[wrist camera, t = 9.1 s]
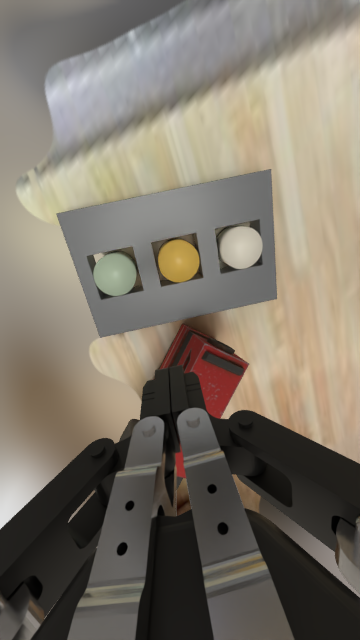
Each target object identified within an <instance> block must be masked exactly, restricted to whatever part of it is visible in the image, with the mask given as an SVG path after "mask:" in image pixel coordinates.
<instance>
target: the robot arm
mask: <svg viewBox="0 0 360 640" xmlns="http://www.w3.org/2000/svg"><path fill="white" fill-rule="evenodd" d="M180 445H181V449H182V453H183V458H184V461H183V463H184V469H185V475H186V480H187V486H188V492H189V497H190V503H191V508H192V509H191V510H189V511H187V512H185V513H183V514H181V515H179V516H176V489H177V468H176V456H175V453H179V452H181V449H180ZM232 474H236V475H237V477H238V478H239V480H240V481H242V482H243V483H244V484H245V485H247V486H248V487H249V488H251V489H252V490H253V491H255V492H256V493H257V494H259V495H260V496H261V497H263V498H264V499H265V500H267V501H268V502H269V503H271V504H272V505H273V506H275V507H276V508H277V509H279V510H280V511H281V512H283V513H284V514H285V515H286V516H288V517H289V518H290V519H292V520H293V521H295V522H296V523H297V524H299V525H300V526H301V527H302V528H304V529H305V530H306V531H308V532H309V533H310V534H312V535H313V536H314V537H316V538H317V539H318V540H320V541H321V542H322V543H324V544H325V545H326V546H328V547H329V548H330V549H331V550H333V551H334V552H335V559H336V563H337V565H338V568H339V570H340V572H341V573H342V575H343V576H344V578H345V579H346V581H347V582H348V583H349V584H350V585H351V586H352V587H353V588H354V589H355V590H356V591H357V592H358V593H359V594H360V464H359V463H357V462H355V461H353V460H351V459H349V458H347V457H345V456H343V455H341V454H339V453H337V452H335V451H333V450H330V449H328V448H326V447H324V446H322V445H320V444H318V443H316V442H314V441H312V440H310V439H308V438H306V437H304V436H302V435H300V434H298V433H296V432H294V431H292V430H290V429H288V428H286V427H284V426H282V425H280V424H278V423H276V422H274V421H272V420H269V419H267V418H265V417H263V416H261V415H259V414H257V413H255V412H253V411H249V410H241V411H237V412H235V413H233V414H232V415H231V416H230V418H229V419H219V418H216V417H213V416H212V415H210V414H209V413H208V411H207V409H206V405H205V401H204V397H203V393H202V389H201V385H200V381H199V377H198V375H196V374H195V373H194V372H189V373H184V370H183V366H182V365H178V366H173V367H169V368H163V369H158V370H155V380H150V381H147V383H146V384H145V386H144V387H143V396H142V404H141V414H140V421H139V422H138V423H137V424H136V425H135V427H134V429H133V432H132V435H131V436H129V437H128V438H126V439H124V440H122V441H120V442H118V443H116V444H114V442H113V440H111V439H108V438H102V439H98V440H96V441H94V442H92V443H91V444H90V445H88V446H87V447H86V448H85V449H84V450H83V451H82V452H81V453H80V454H79V455H78V456H77V457H76V458H75V459H74V460H73V461H72V462H70V464H68V465H67V466H66V467H65V468H64V469H63V470H62V471H61V472H60V473H59V474H58V475H57V476H56V477H55V478H54V479H53V480H52V481H51V482H49V483H48V484H47V485H46V486H45V487H44V488H43V489H42V490H41V491H40V492H39V493H38V494H37V495H36V496H35V497H34V498H33V499H32V500H31V501H30V502H29V503H28V504H26V505H25V506H24V507H23V508H22V509H21V510H20V511H19V512H18V513H17V514H16V515H15V516H14V517H13V518H12V519H11V520H10V521H9V522H8V523H6V524H5V525H4V527H2V528H1V529H0V640H360V598H359V597H358V596H357V595H356V594H355V593H354V592H352V591H351V590H350V589H349V588H348V587H347V586H345V585H344V584H343V583H342V582H341V581H340V580H339V579H337V578H336V577H335V576H334V575H333V574H331V573H330V572H329V571H328V570H327V569H326V568H325V567H323V566H322V565H321V564H320V563H319V562H318V561H316V560H315V559H314V558H313V557H312V556H310V555H309V554H308V553H307V552H306V551H305V550H304V549H303V548H301V547H300V546H299V545H298V544H297V543H296V542H295V541H293V540H292V539H291V538H290V537H289V536H288V535H286V534H285V533H284V532H283V531H282V530H281V529H279V528H278V527H277V526H276V525H275V524H274V523H272V522H271V521H270V520H268V519H267V518H266V517H264V516H262V515H261V514H259V513H257V512H255V511H252V510H249V509H245V508H244V506H243V504H242V501H241V498H240V495H239V493H238V490H237V487H236V484H235V482H234V479H233V476H232ZM93 490H95V493H94V494H93V495H92V496H91V497H90V499H89V500H88V501H87V502H86V503H85V504H84V506H83V507H82V508H81V509H80V510H79V511H78V513H77V514H76V515H75V516H74V517H73V518H72V519H71V520H70V522H69V523H68V521H69V519H70V517H71V515H72V514H73V513H74V512H75V511H76V510H77V508H78V507H79V506H80V505H81V504H82V503H83V502H84V501H85V499H86V498H87V497H88V496H89V495H90V494H91V492H92V491H93ZM96 547H97V548H96ZM60 596H61V597H60ZM57 600H58V601H57ZM55 603H56V604H55ZM54 604H55V605H54ZM53 606H54V607H53ZM52 607H53V608H52ZM51 608H52V609H51ZM50 610H51V611H50ZM49 611H50V612H49ZM48 613H49V614H48ZM47 614H48V615H47ZM46 615H47V617H46ZM45 617H46V618H45ZM44 618H45V619H44Z"/></svg>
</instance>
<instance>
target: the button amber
mask: <svg viewBox="0 0 360 640" xmlns="http://www.w3.org/2000/svg"><path fill="white" fill-rule="evenodd" d="M158 263H159V268H160V271H161V273H162V274H163V275H164V276H165V277H166V278H167V279H168V280H170V281H173V282H185V281H187V280H189V279H191V278H192V277H193V276H194V275H195V274H196V272H197V270H198V267H199V255H198V252H197V251H196V249H195V248H194V247H193V246H192V245H191V244H190V243H188V242H186V241H185V240H182V239H178V238H174V239H170V240H168V241H166V242H165V243H164V244H163V245H162V246H161V248H160V249H159V252H158Z"/></svg>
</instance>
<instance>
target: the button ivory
mask: <svg viewBox="0 0 360 640" xmlns="http://www.w3.org/2000/svg"><path fill="white" fill-rule="evenodd" d="M216 243H217V250H218V257H219V259H220V260H221V261H223V262H225V263H226V264H228V265H230V266H231V267H233V268H236V269H245V268H248V267H250V266H252V265H253V264H254V263H255V262H256V261H257V260H258V259H259V257H260V255H261V253H262V247H263V244H262V239H261V237H260V235H259V233H258V232H257V231H256V230H254V229H252V228H250V227H243V226H230V227H228V228H226V229H224V230H223V231H222V232H221V233H220V234H219V235H218V237H217V239H216Z"/></svg>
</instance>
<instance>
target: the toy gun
mask: <svg viewBox="0 0 360 640" xmlns="http://www.w3.org/2000/svg"><path fill="white" fill-rule="evenodd" d="M234 351H235V350H234V349H232V348H231V347H229V346H227V345H225V344H223V343H221V342H220V341H217V340H216V339H214V338H211V337H209V336H207V335H205V334H203V333H201V332H199V331H197V330H195V329H193V328H190V327H188V326H186V325H184V324H182V325H181V327H180V329H179V331H178V333H177V335H176V337H175V339H174V341H173V343H172V345H171V347H170V349H169V351H168V353H167V355H166V357H165V359H164V361H163V363H162V365H161V367H160V369H163V368H169V367H173V366H178V365H182V366H183V370H184V373H189V372H194V373H195V374H196V375H198V377H199V381H200V385H201V389H202V393H203V397H204V401H205V405H206V409H207V411H208V413H209V414H210V415H212V416H213V417H216V418H219V419H220V418H221V416H222V415H223V413H224V411H225V409H226V407H227V405H228V403H229V401H230V399H231V397H232V396H233V394H234V392H235V390H236V388H237V386H238V384H239V382H240V380H241V378H242V377H243V375H244V373H245V371H246V369H247V367H248V365H249V363H247V362H246V361H244V360H243V359H241V358H240V357H239V356H237V355H236V354H234ZM154 380H155V379H154ZM139 421H140V420H137V419H132V420H130V421H129V423H128V425H127V427H126V429H125V431H124V432H123V434H122V436H121V438H120V441H122V440H124V439H126V438H128V437H129V436H131V435H132V432H133V429H134V427H135V425H136V424H137V423H138V422H139ZM120 441H119V442H120ZM180 449H181V445H180ZM175 456H176V468H177V489H178V487H179V485H180V483H181V481H182V479H183V478H186V475H185V469H184V463H183V461H184V458H183V453H182V449H181V452H179V453H175ZM177 489H176V490H177Z"/></svg>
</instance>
